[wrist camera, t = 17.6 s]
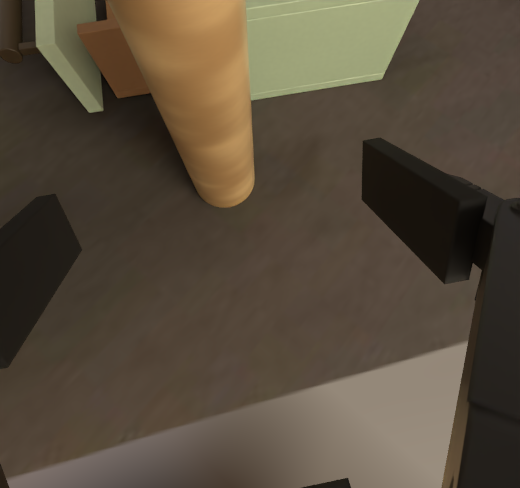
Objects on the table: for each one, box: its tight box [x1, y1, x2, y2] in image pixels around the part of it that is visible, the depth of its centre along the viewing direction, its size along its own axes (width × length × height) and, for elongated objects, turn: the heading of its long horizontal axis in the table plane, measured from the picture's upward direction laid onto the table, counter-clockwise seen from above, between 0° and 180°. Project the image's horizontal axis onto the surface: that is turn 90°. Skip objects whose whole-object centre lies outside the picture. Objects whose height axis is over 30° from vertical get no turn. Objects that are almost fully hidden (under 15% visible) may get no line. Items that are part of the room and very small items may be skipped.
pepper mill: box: [107, 0, 255, 207], centre depth 18 cm, size 5×5×20 cm
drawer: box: [0, 0, 151, 113], centre depth 26 cm, size 17×12×7 cm
